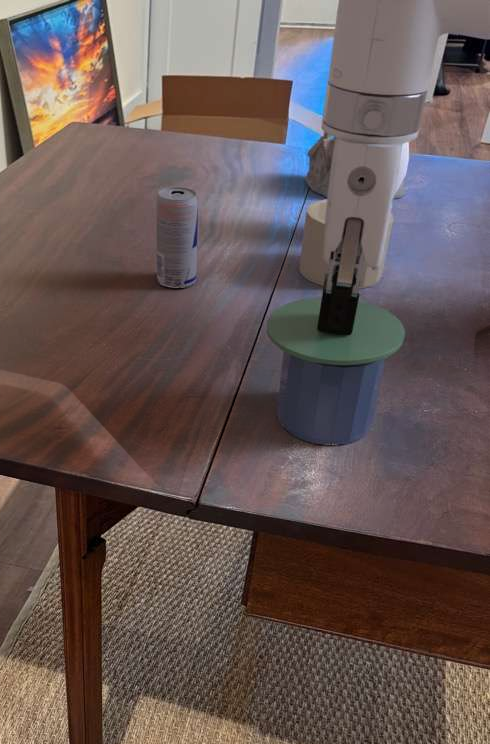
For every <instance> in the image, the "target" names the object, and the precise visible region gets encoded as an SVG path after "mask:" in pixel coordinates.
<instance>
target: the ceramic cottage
mask: <svg viewBox="0 0 490 744" xmlns="http://www.w3.org/2000/svg"><path fill="white" fill-rule="evenodd" d="M334 143H335V137H334V136H333V138H332V136H331V135H329V134H327V133H326V132H325V131H324V132H323V136H320V138H319V139H318V140H317V142H315V144H314V145H312V146H311V147H310V148H309V150H308V151H307V157H308V158H309V160H308V161H309V162H308V172H307V173H306V176H305V178H304V182H305V183H306V185H307V186H308V187H309V189H310V191H313V192H315V193H316V194H318V195H321V196H323V197H326V198H327V196H328V188H329V180H330V172H331V165H332V158H333V150H334ZM404 196H405V181H404V180H403V181H402V183H401V185H400V187H399V189H398V190H397V192H396V193H395V194H394V199H393V200H395V199H398V198H403V197H404Z"/></svg>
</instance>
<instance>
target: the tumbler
mask: <svg viewBox="0 0 490 744" xmlns="http://www.w3.org/2000/svg"><path fill="white" fill-rule="evenodd" d="M386 360H387V357H386V358H384V359H381V360H378V361H374V362H370V363H365V364H357V365H330V364H322V363H316V362H311V361H307V360H304V359H300V358H298V357H295V356H292V355H290V354H288V353H286V352H284V351H283V355H282V364H281V371H280V373H281V374H280V380H279V388H278V397H277V406H276V417H277V416H278V418H277V420H278V419H279V420H278V422H279V421H280V422H279V424H280V423H281V424H282V425H283V427H284V428H285V429H286V430H287V431H289V432H290V433H291V434H293V435H294V436H293V435H292V436H293V437H295V436H296V437H298V438H297V439H299V438H301V439H303V440H307V441H309V442H313V443H318V444H330V445H332V444H334V445H335V444H337V445H336V446H339V445H338V444H345V445H348V444H347V443H349V444H352V443H355V442H357V441H360V440H361V439H363V438H364V437H365V436H366V435H367V433H368V432H369V431H370V429H371V426H372V423H373V417H374V415H375V410H376V406H377V401H378V396H379V391H380V387H381V383H382V378H383V373H384V369H385V365H386ZM281 424H280V425H281ZM283 427H282V428H283ZM284 428H283V429H284ZM285 429H284V430H285ZM286 430H285V431H286ZM287 431H286V432H287ZM289 432H288V433H289ZM290 433H289V434H290ZM291 434H290V435H291ZM296 437H295V438H296ZM301 439H300V440H301ZM303 440H302V441H303ZM354 441H355V442H354ZM309 442H308V443H309ZM351 442H352V443H351ZM313 443H312V444H313ZM318 444H317V445H318Z"/></svg>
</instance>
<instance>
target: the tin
mask: <svg viewBox="0 0 490 744" xmlns="http://www.w3.org/2000/svg"><path fill="white" fill-rule="evenodd" d="M326 205H327V198H325V199H321V200H316V201H314V202H311V203H310V204H309V205H307V207H306V210H305V211H306V212H305V220H304V226H303V236H302V243H301V249H300V250H301V252H300V259H299V273H300V274H301V275H302V276H303V277H304V278H305V279H306V280H308V281H309V282H312V283H314V284H316V285H319V286H322V287H324V281H325V275H326V274H327V273H329V267H330V262H329V265H328V264H327V263H326V262H325V261H324V259H323V253H324V232H325V217H326ZM393 224H394V214H393V213H392V212H391V215H390V220H389V225H388V230H387V235H386V240H385V246H384V251H383V257H382V263H381V266H380V267H379V268H378V269H377V270H373V269H372V267H366V263H365V259H364V261H363V268H362V272H361V277H360V278H361V279H360V285H359V290H361V289H366V288H370V287H372V286H375V285H377V284H378V283H379V282H381V279H382V276H383V273H384V268H385V263H386V259H387V253H388V250H389V249H388V248H389V244H390V238H391V234H392V233H391V232H392V230H393V229H392V228H393ZM337 255H338V254H337Z"/></svg>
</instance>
